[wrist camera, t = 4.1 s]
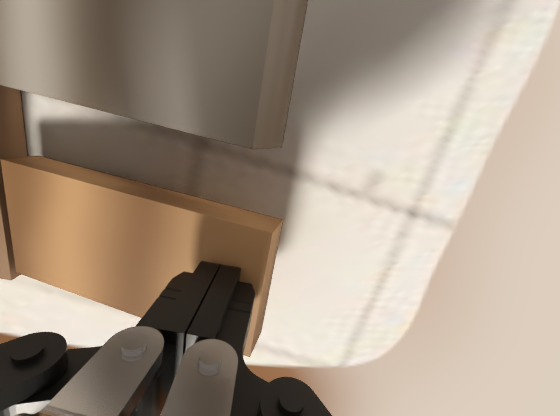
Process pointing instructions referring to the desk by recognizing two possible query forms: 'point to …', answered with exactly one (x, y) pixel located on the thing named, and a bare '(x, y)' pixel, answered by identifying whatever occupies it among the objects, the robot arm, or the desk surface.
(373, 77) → the desk surface
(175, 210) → the chestnut plank
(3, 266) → the walnut panel
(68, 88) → the grey ash plank
